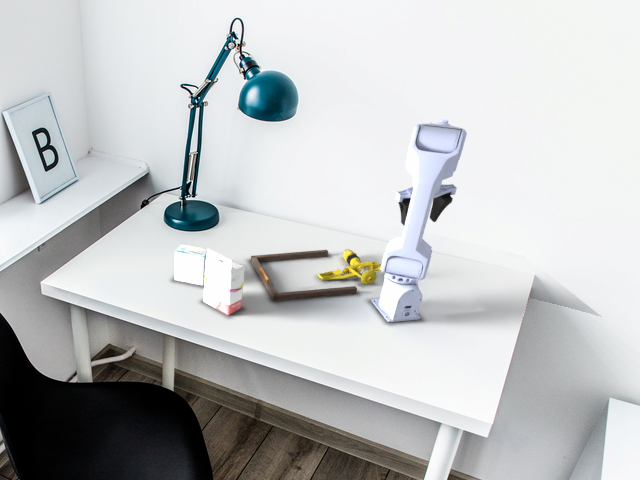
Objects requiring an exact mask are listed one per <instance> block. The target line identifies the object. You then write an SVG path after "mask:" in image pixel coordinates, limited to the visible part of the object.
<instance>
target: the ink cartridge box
mask: <svg viewBox="0 0 640 480" xmlns="http://www.w3.org/2000/svg"><path fill="white" fill-rule="evenodd" d="M207 249H208V250H207V258H206V264H205V283H204V285H203V287H204V288H203V303H205V304H207V305H209V306H211V307H212V308H214V309H216V310H217V311H220V312H221V313H223V314H225V315H226V316H230V315H231V314H233V313H235V312H237V311H238V310H241V309H242V301H243V292H244V291H243V290H244V279H245V265H243V264H241V263H239V262H238V261H235V260H234V259H231V258H229V257H226V256H225V255H223V254H220V253H218V252H216V251H214V250H212V249H210V248H207Z"/></svg>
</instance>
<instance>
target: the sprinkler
mask: <svg viewBox="0 0 640 480" xmlns="http://www.w3.org/2000/svg"><path fill="white" fill-rule="evenodd" d="M342 257H343V259H344V262H345V263H347V264H348V266H346V267H344V268H342V270H341V269H339V268H336V269H335V270H332V271H326V272H321V273H318V274H317V276H318V278H319V279H321V281H331V280H332V281H333V280H345V279H349V278H356V277H358V278H360V282H361V283H363V285H366V286H367V285H371V284H373V283H375V281H376V280H377V279H378V275H377V271H378V272H382V271H381V264H382V263H378V262H377V260H376V261H371V260H370V261H369V260H368V261H363V262H362V261H361V258H360V256H358V255H357V252H354V251H353V250H351V249H350V248H349V249H348V248H347V249H344V250H343V251H342Z"/></svg>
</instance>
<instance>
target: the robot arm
mask: <svg viewBox="0 0 640 480" xmlns="http://www.w3.org/2000/svg"><path fill="white" fill-rule="evenodd" d="M467 135H468V132H467V131H466V129H464V128H463V127H459V126H455V125H452V124H450V123H449V120H448V119H440V121H439V122H437V123H432V122H430V123H417V125H415V126H414V127H413V130H412V133H411V137H410V141H409V145H408V149H407V155H406V159H405V165H406V166H405V171H406V172H407V173H409V174H410V176H412V186H411V187H409V188H406V189H403V190H400V191H396V194H395V200H396V201H397V203H398V207H399V210H400V211H399V212H400V223H401V224H402V225H403V229H402V234H401V235H399V236H396V237H393V238H390V239H389V241H388V242H387V244H386V246H385V250H384V253H383V257H382V260H381V263H380V264H381V271H380V272H381V273H382V274H383V275H384V276H383V277H384V279H383V283H382V287H381V292H380V295H379V298H372V299H371V303H372V304H373V306H374V307H375V308H376V309H377V310H378V312H379V313H380V314H381V315H382V317H383V319H384V320H385V321H386V322H388V323H394V322H404V321H415V320H417V321H418V320H420V319H421V316H420V314H419V311H420V308H421V304H422V301H423V293H422V291H421V290H420V287H419V281H423V280H425V279H426V277H427V273H428V270H429V266H430V262H431V259H432V253H433V247H432V246H431V245H430V244H429V243H428V242H427V241H426V240H425V239H424V238H423V237H424V234H425V230H426V226H427V224H428V223H427V222H428V219H430V220H431V221H432V223H436V222H437V221H438V219H439V217H440V216H441V214H442V213H443V211H444V210H445V209H446V208H447V207H448V206H449V205H450V204H451V203H452V202H453V199H454V198H453V197H452V196H455V195H456V193H457V190H458V187H457V186H455V185H454V183H450V184H443V181H444V180H446V179H449V178H452V177H453V176H454V173H455V172H456V171H457V168H458V165H459V161H460V159H461V156H462V153H463V149H464V145H465V142H466V138H467Z"/></svg>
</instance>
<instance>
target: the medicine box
mask: <svg viewBox="0 0 640 480" xmlns="http://www.w3.org/2000/svg"><path fill="white" fill-rule="evenodd" d="M208 249H209V248H204V247H199V246H193V245H187V244H183V243H181V244H180V245H179V246H178V247H177V249H176V250H175V251H174V281H176V282H177V281H178V282H183V283H187V284H193V285H197V286H202V287H204V283H205V264H206V258H207V250H208Z"/></svg>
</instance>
